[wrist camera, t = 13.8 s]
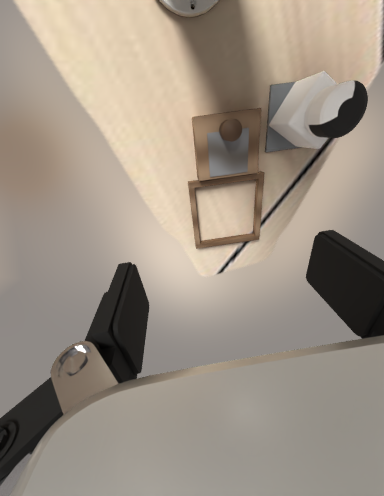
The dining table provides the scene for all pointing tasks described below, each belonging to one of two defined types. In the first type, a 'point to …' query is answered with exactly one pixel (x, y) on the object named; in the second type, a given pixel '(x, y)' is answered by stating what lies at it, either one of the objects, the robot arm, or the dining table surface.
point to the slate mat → (275, 100)
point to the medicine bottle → (319, 110)
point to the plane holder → (227, 161)
